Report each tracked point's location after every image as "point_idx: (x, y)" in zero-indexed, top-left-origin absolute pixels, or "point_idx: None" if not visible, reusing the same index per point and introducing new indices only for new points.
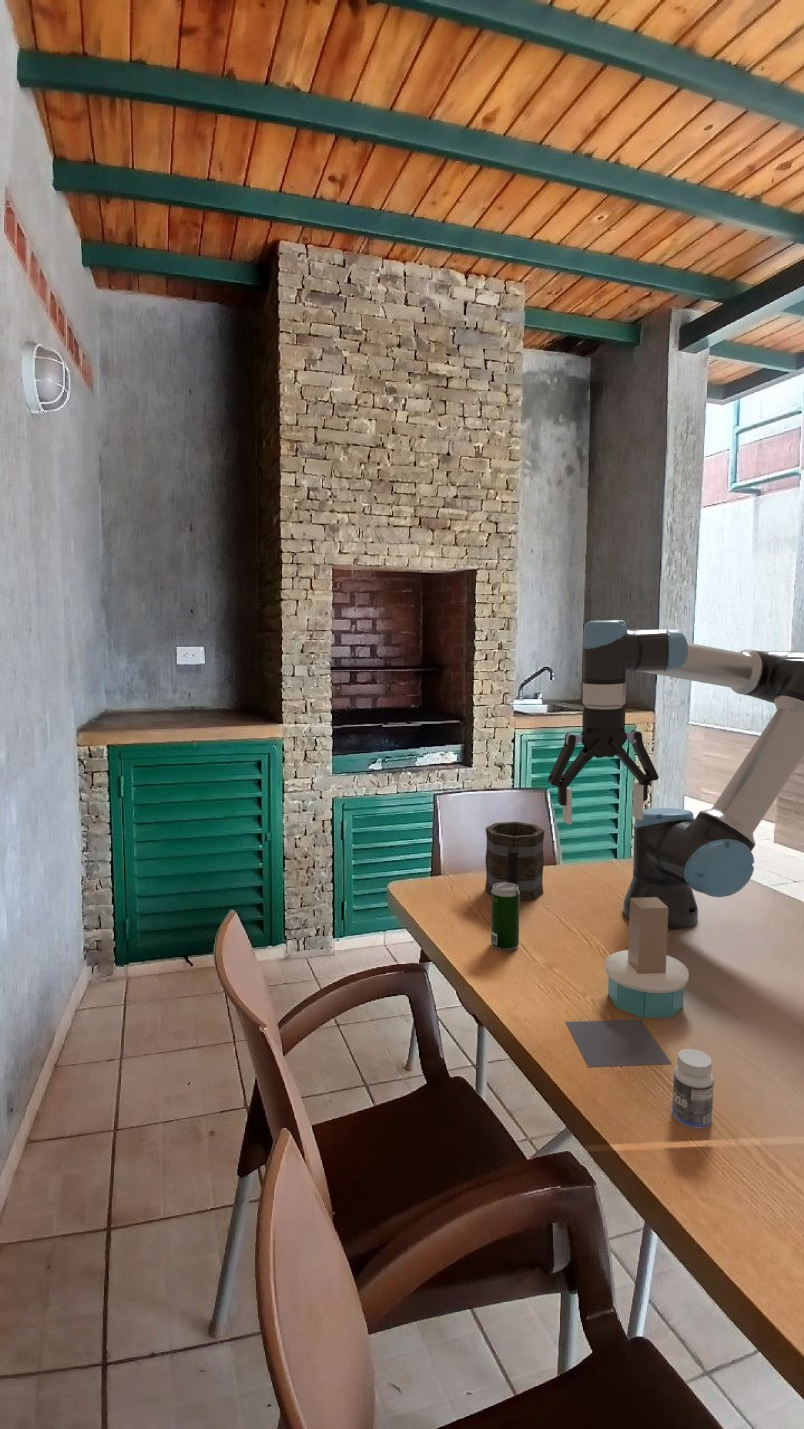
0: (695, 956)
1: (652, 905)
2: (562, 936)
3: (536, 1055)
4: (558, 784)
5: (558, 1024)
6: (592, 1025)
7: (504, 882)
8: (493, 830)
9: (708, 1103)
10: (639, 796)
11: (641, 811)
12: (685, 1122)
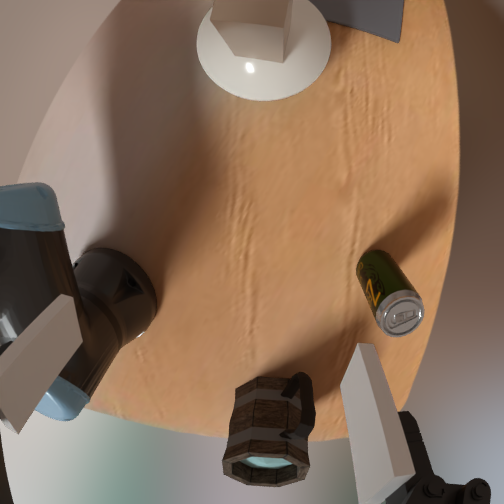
0: (121, 165)
1: None
2: (277, 273)
3: (445, 15)
4: (448, 494)
5: (404, 48)
6: (370, 22)
7: (392, 336)
8: (299, 473)
9: None
10: (18, 355)
11: (47, 312)
12: None
